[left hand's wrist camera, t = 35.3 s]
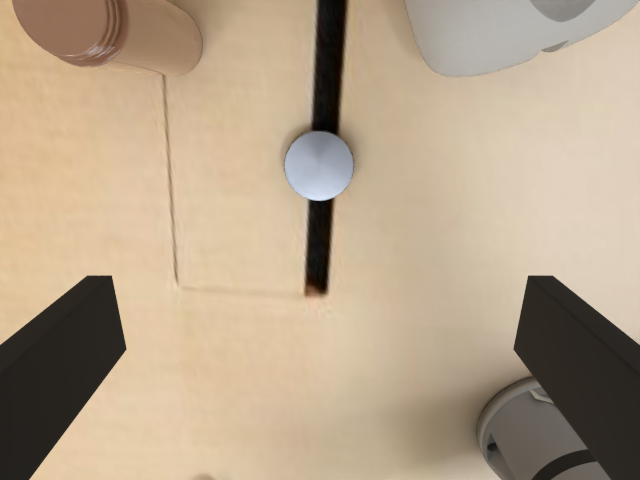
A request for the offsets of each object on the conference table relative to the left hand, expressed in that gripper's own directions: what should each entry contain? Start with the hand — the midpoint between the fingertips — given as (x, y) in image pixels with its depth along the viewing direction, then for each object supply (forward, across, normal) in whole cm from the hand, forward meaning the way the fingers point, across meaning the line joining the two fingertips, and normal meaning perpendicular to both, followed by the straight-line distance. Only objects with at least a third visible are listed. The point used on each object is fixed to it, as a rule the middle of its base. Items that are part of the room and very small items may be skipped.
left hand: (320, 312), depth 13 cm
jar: (+26, +13, -11) cm, 31 cm away
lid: (+25, 0, 0) cm, 25 cm away
